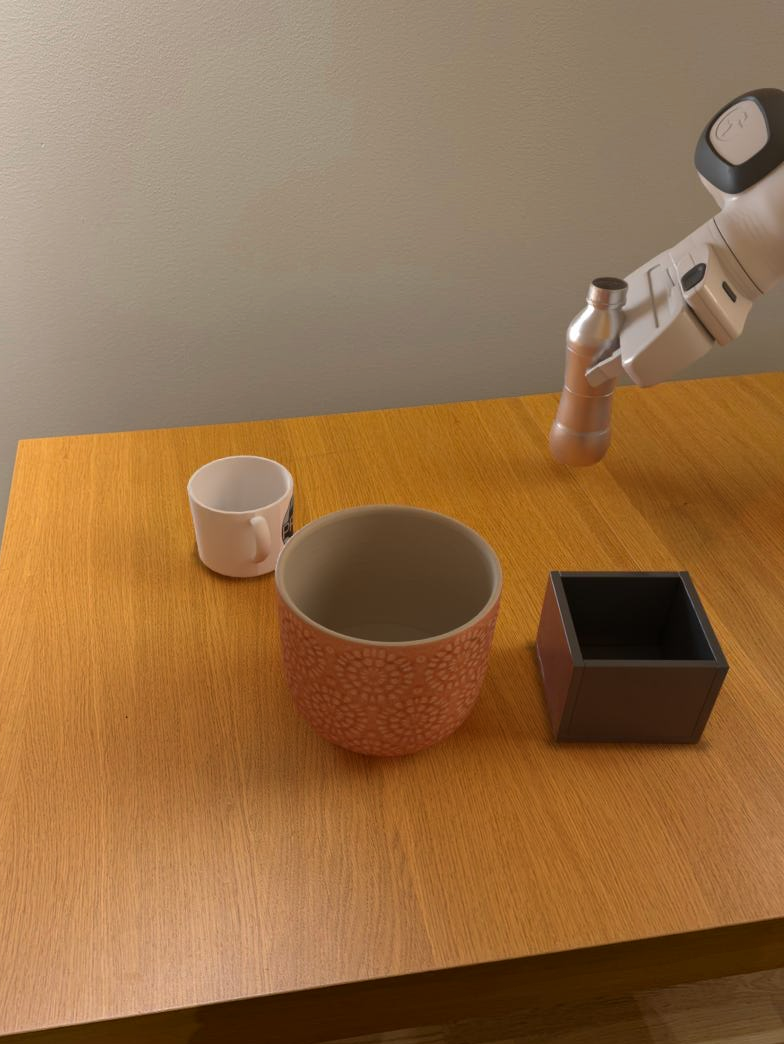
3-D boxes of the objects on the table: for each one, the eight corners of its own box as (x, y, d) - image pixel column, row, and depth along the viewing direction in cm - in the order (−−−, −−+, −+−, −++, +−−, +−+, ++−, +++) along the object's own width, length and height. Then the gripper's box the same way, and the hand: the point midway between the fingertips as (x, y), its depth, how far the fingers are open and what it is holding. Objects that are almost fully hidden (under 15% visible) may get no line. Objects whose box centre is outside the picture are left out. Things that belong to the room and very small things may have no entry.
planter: (443, 627, 86) (458, 490, 76) (511, 764, 74) (540, 623, 64) (266, 656, 84) (256, 520, 74) (306, 803, 72) (300, 664, 61)
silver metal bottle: (587, 481, 101) (625, 302, 88) (534, 460, 105) (562, 285, 91) (616, 457, 105) (657, 281, 91) (563, 437, 108) (595, 265, 94)
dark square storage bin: (663, 646, 84) (688, 570, 78) (698, 743, 75) (729, 667, 69) (534, 646, 84) (549, 570, 78) (555, 742, 76) (574, 666, 70)
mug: (185, 531, 98) (176, 466, 93) (279, 511, 101) (276, 447, 95) (216, 608, 89) (208, 541, 84) (318, 585, 91) (317, 518, 86)
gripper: (682, 215, 95) (569, 302, 103) (703, 293, 80) (569, 387, 89) (715, 261, 97) (602, 343, 106) (742, 345, 83) (608, 432, 91)
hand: (587, 364), depth 97 cm, fingers closed on silver metal bottle, 6 cm apart
